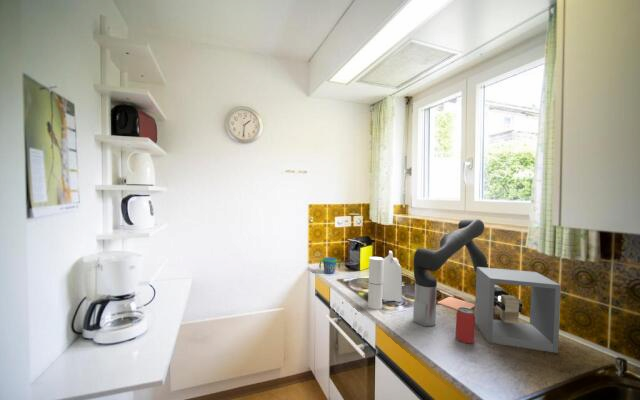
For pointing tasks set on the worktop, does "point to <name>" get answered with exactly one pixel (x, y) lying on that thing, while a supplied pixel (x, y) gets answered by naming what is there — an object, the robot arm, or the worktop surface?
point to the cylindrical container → (375, 282)
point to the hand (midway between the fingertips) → (512, 309)
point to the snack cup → (329, 264)
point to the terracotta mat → (455, 303)
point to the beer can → (465, 325)
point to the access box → (542, 310)
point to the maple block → (510, 309)
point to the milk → (392, 278)
